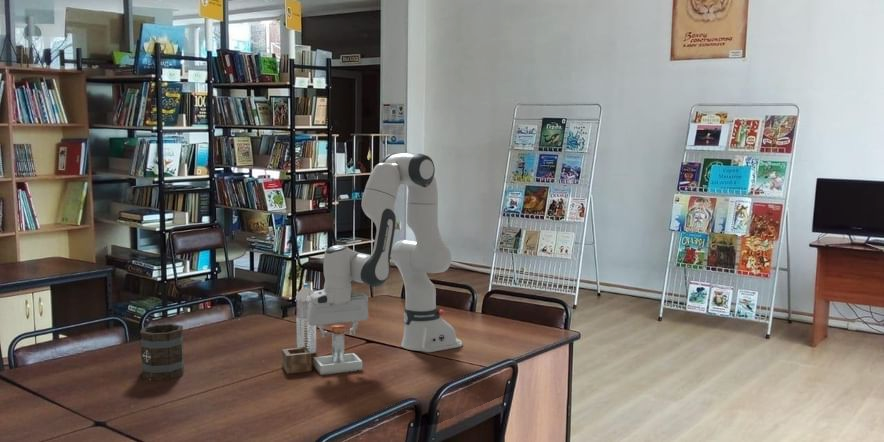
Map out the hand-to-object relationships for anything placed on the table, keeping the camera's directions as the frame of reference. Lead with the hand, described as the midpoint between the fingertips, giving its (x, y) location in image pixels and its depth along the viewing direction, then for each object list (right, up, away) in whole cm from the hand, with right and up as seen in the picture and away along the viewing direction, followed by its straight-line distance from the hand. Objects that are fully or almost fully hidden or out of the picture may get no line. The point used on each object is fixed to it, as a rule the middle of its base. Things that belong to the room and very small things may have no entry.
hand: (338, 335), depth 255 cm
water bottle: (-14, -9, +18) cm, 25 cm away
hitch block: (-14, -11, 0) cm, 18 cm away
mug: (-58, -12, -4) cm, 59 cm away
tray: (0, -11, +1) cm, 11 cm away
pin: (0, -10, +1) cm, 10 cm away
